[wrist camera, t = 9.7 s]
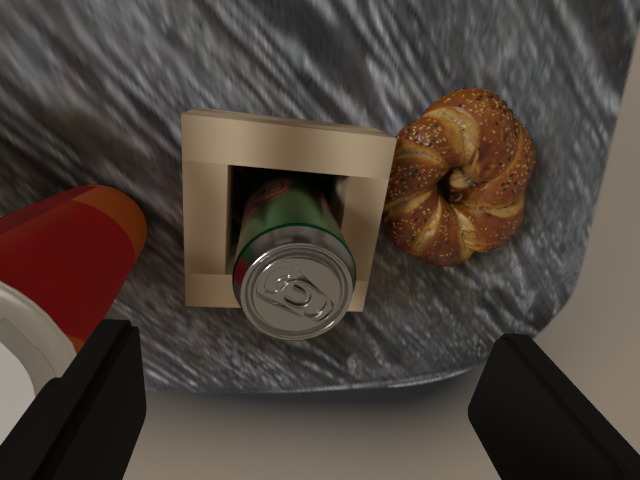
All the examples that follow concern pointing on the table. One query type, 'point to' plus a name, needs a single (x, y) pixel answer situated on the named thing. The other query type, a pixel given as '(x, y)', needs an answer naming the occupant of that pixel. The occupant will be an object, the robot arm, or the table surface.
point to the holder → (275, 153)
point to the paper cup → (59, 284)
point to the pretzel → (458, 178)
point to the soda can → (291, 258)
